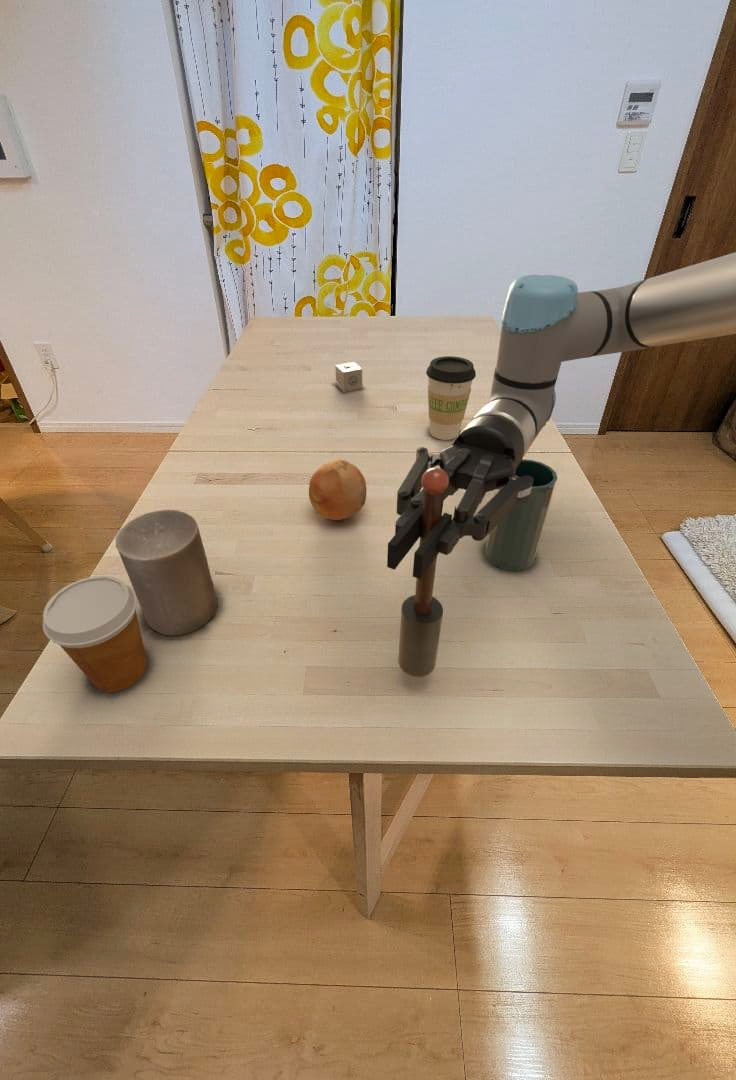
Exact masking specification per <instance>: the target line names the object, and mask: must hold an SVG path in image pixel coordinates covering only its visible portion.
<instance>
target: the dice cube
mask: <svg viewBox="0 0 736 1080" xmlns="http://www.w3.org/2000/svg"><path fill="white" fill-rule="evenodd" d="M334 369H335V385H336V386H337V387H338V388H339V389H340V390H341V392H343V393H345V392H346V393H348V392H352V391H357V390H362V389H363V368H362V367H360V366H359V365H358V364H357V363H356V362H354V361H352V362H346V363H345V362H344V363H340V364H335V368H334ZM336 381H337V382H338V383H339V384H338V383H337V382H336Z"/></svg>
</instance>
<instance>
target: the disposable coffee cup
mask: <svg viewBox="0 0 736 1080" xmlns="http://www.w3.org/2000/svg"><path fill="white" fill-rule="evenodd" d="M137 605H138V599H137V597H136V594H135V591H134V589H133V588H131V587H130V586H129V585H128V584H126V583H125V582H124V581H122V580H121V579H120V578H117V577H115V576H108V575H95V576H89V577H85V578H82V579H78V580H76V581H73V582H71V583H69V584H67V585H66V586H63V587H62V588H61V589H60V590H59V591H57V592H56V593H55V594H54V595H52V596H51V598H50V599H49V600H48V601H47V603H46V605H45V607H44V609H43V614H42V619H43V620H42V630H43V633H44V635H45V636H46V637H47V638H48V639H49V640H50V641H51V642H53V643H54V644H57V645H58V646H59V647H60V648H61V649H62V650H63V651H64V652H65V653H66V655H68V657H69V658H70V659H71V660H72V661H73V662H74V664H75V665H76V666H77V667H78V668H79V669H80V670H81V671H82V672H83V674H84V675H85V676H86V678H88V680H89V681H90V682H91V683H92V684H93V686H94V687H96V689H98V690H99V691H101V692H105V693H116V692H121V691H123V690H126V689H128V688H130V687H132V686H133V685H134V684H136V683H137V682H139V680H141V678H142V677H143V676H144V674H145V672H146V671H147V666H148V660H147V657H146V656H147V655H146V652H145V647H144V643H143V638H142V633H141V628H140V624H139V623H140V622H139V620H138V614H137V607H138V606H137Z"/></svg>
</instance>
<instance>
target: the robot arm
mask: <svg viewBox="0 0 736 1080" xmlns="http://www.w3.org/2000/svg"><path fill="white" fill-rule="evenodd" d="M500 320H501V327H500V334H499V335H500V336H499V343H498V351H497V359H496V365H495V368H494V373H493V378H492V383H491V390H490V395H489V399H488V401H487V402H486V403H485V405H484V406H483V407H482V408H481V409H480V410H479V411H478V412H477V414H475V415H474V417H473V418H472V419H471V420H470V421H469V423H468V424H466V426H465V427H464V428H463V429H462V430H461V431H460V432H459V435H458V436H457V437H456V438H454V441H453V442H452V444H451V445H450V446H449V447H447V448H444V449H441V451H440V453H431V452H430V453H429V450H428V448H426V447H424V446H419V447H417V448H416V453H415V461H414V463H413V465H412V466H411V468H410V470H409V471H408V473H407V475H406V477H405V478H404V480H403V482H402V483H401V484H400V486H399V488H398V490H397V495H396V496H397V497H396V514H397V515H398V516H399V517H398V518H397V519H396V521H395V527H394V536H393V537H392V538H391V539H390V540H389V541H388V543H387V555H386V556H387V558H386V559H387V560H386V561H387V562H386V568H389V569H391V570H394V571H395V570H396V569H397V567H398V566H399V565H400V564H401V562H402V561H403V559H404V558H405V557H406V556H407V555H408V553H409V552H410V551H411V550H412V548H413V547H414V545H416V543H417V542H418V540H420V532H421V520H422V509H423V497H424V489H423V487H422V483H421V480H422V476H423V474H424V473H425V472H426V471H427V470H428V469H431V468H437V467H438V466H439V467H438V468H440V469H443V470H444V471H445V472H446V473H447V475H448V477H449V486H448V488H447V490H446V491H445V493H444V501H445V500H446V499H447V498H448V497H449V496H451V497H452V496H454V495H455V493H457V491H459V490H465V492H464V493H463V495H462V497H461V499H460V501H459V503H458V504H457V506H456V505H455V506H454V511H453V515H452V514H450V513H447V512H443V513H442V517H441V519H439V521H438V522H437V523H436V525H435V526H434V527H433V529H432V530H431V531H430V533H429V534H428V535H427V537H426V538H425V539H424V541H423V542H422V543H421V545H420V546H418V547H417V549H416V550H415V551H414V554H413V566H412V577H413V578H415V579H416V578H418V579H421V578H422V576H423V575H424V574H425V572H426V571H427V569H428V568H429V566H430V565H431V563H432V562H433V561H434V559H435V558H436V556H437V557H438V555H439V554H442V555H445V556H448V555H449V554H451V553H452V552H453V550H454V548H455V547H456V546H457V544H458V542H459V541H460V540H461V539H462V538H464V537H471V539H472V540H474V541H477V542H480V541H484V539H485V538H487V537H488V534H489V533H490V532H491V531H492V530H493V529H494V528H495V527H496V526H497V525H498V524H499V523H500V522H501V520H502V519H503V518H504V517H505V516H506V515H507V514H508V513H509V512H510V511H511V510H512V509H513V508H514V507H515V506H516V505H519V504H521V503H523V502H526V501H528V500H529V496H530V492H531V488H532V484H533V478H532V477H531V476H527V475H525V476H522V477H518V476H516V475H515V472H516V468H517V467H518V465H519V464H520V462H521V460H522V459H524V457H525V455H526V454H527V453H528V451H529V449H530V448H531V446H532V445H533V443H534V441H535V440H536V438H537V437H538V436H539V434H540V432H541V431H542V430H543V428H544V427H545V426H546V425H547V423H548V422H549V421H550V420H551V417H552V414H553V410H554V408H555V405H556V401H557V394H556V390H555V387H556V383H557V380H558V377H559V373H560V370H561V367H562V363H563V362H569V361H574V360H575V361H576V360H580V359H588V358H592V357H598V356H605V355H612V354H619V353H625V352H626V353H627V352H634V351H635V352H636V351H641V350H644V349H650V348H653V347H660V346H666V345H673V344H679V343H685V342H691V341H693V342H694V341H699V340H705V339H712V338H719V337H724V336H731V335H732V336H733V335H736V251H735V252H731V253H728V254H725V255H722V256H719V257H716V258H712V259H708V260H704V261H702V262H699V263H695V264H692V265H688V266H685V267H681V268H679V269H675V270H673V271H668V272H666V273H663V274H659V275H656V276H652V277H649V278H647V279H643V280H639V281H635V282H632V283H629V284H626V285H622V286H617V287H612V288H607V289H600V290H589V291H580V292H579V288H578V284H577V283H576V281H574V280H572V279H570V278H567V277H564V276H560V275H553V274H527V275H523V276H520V277H518V278H516V279H515V280H514V281H512V283H511V284H510V286H509V289H508V292H507V297H506V299H505V303H504V308H503V312H502V316H501V319H500ZM500 488H502V489H501V490H500V491H499V492H498V493H497V492H496V493H495V495H493V496H492V498H490V499H489V501H487V502H486V503H485V504H484V506H482V507H481V508H480V509H479V510H478V511H477V509H478V507H479V506H480V505H481V504H482V501H483V500H484V497H485V495H486V494H487V493H488V492H493V491H497V489H500Z"/></svg>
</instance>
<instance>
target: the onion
mask: <svg viewBox="0 0 736 1080" xmlns="http://www.w3.org/2000/svg"><path fill="white" fill-rule="evenodd" d="M365 478H366V477H364V474H363V473H362V471H361V470H360V469H359V468H358V467H357V466H356V465H355V464H353V463H351V462H350V461H347V460H344V459H334V460H331V461H328V462H325V463H324V464H322V465H321V466H319V468H317V470H315V472H314V473H313V474H312V476H311V477H310V479H309V485H308V498H309V499H308V500H309V502H310V504H311V506H312V508H313V509H314V510H315V511H316V513H317V514H319V515H320V516H321V517H323V518H325V519H328V520H332V521H339V520H345V519H348V518H351V517H353V516H354V515H356V514H357V513H359V512H360V511H361V510H362V508H363V507H364V505H365V504H366V500H367V482H366V479H365Z"/></svg>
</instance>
